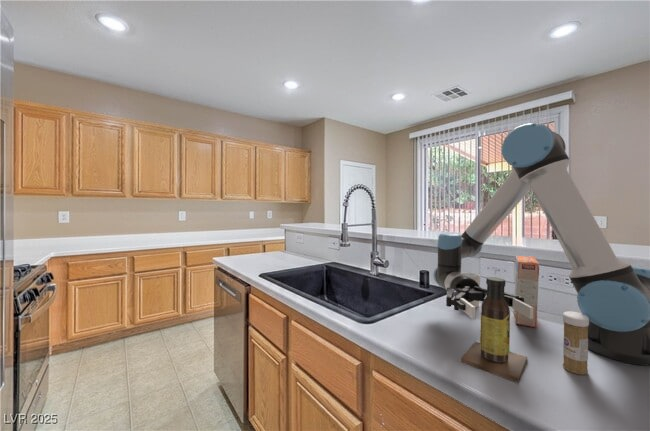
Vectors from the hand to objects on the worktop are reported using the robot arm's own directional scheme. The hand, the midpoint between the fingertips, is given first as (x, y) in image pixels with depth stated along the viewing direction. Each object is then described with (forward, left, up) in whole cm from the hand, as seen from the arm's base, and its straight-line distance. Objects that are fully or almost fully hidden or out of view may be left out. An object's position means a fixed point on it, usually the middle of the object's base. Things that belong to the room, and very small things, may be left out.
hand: (502, 313), depth 68 cm
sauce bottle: (+2, -2, -13) cm, 13 cm away
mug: (+19, -43, -14) cm, 49 cm away
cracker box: (+1, -39, -14) cm, 42 cm away
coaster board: (+2, -2, -13) cm, 14 cm away
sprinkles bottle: (-13, -11, -14) cm, 22 cm away
